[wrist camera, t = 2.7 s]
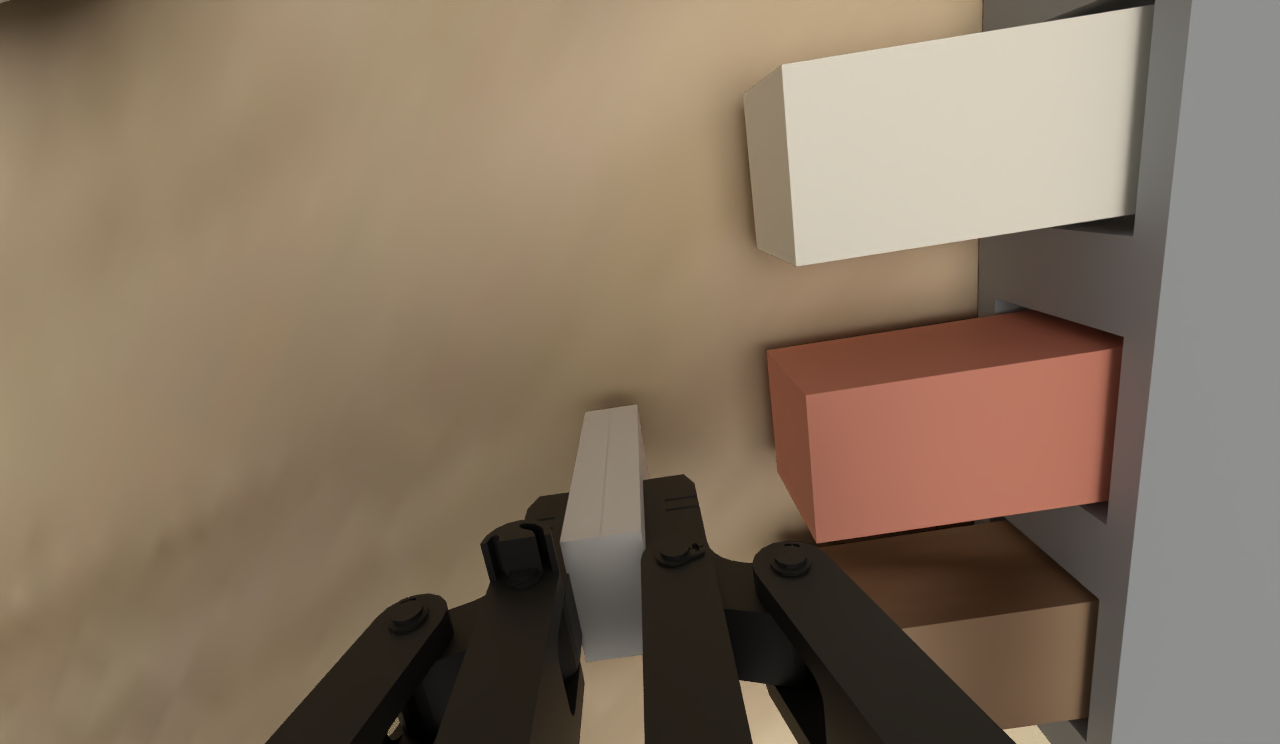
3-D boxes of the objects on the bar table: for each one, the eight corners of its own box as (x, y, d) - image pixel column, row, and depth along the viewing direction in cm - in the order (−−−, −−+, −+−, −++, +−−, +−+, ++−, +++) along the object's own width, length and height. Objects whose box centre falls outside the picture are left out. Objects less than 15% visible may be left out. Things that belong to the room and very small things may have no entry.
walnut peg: (793, 650, 21) (831, 753, 17) (784, 552, 20) (823, 640, 16) (1051, 613, 21) (1147, 709, 17) (1058, 512, 20) (1162, 591, 16)
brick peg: (777, 471, 19) (816, 543, 15) (766, 350, 18) (805, 395, 14) (1063, 428, 19) (1175, 490, 15) (1071, 303, 18) (1196, 336, 14)
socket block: (972, 641, 23) (1103, 811, 16) (983, -21, 16) (1208, -150, 10) (1184, 610, 23) (1398, 771, 16) (1282, -70, 16) (1700, -231, 10)
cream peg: (757, 248, 17) (796, 266, 13) (742, 94, 16) (781, 65, 12) (1077, 198, 17) (1214, 201, 13) (1088, 38, 15) (1240, -10, 12)
